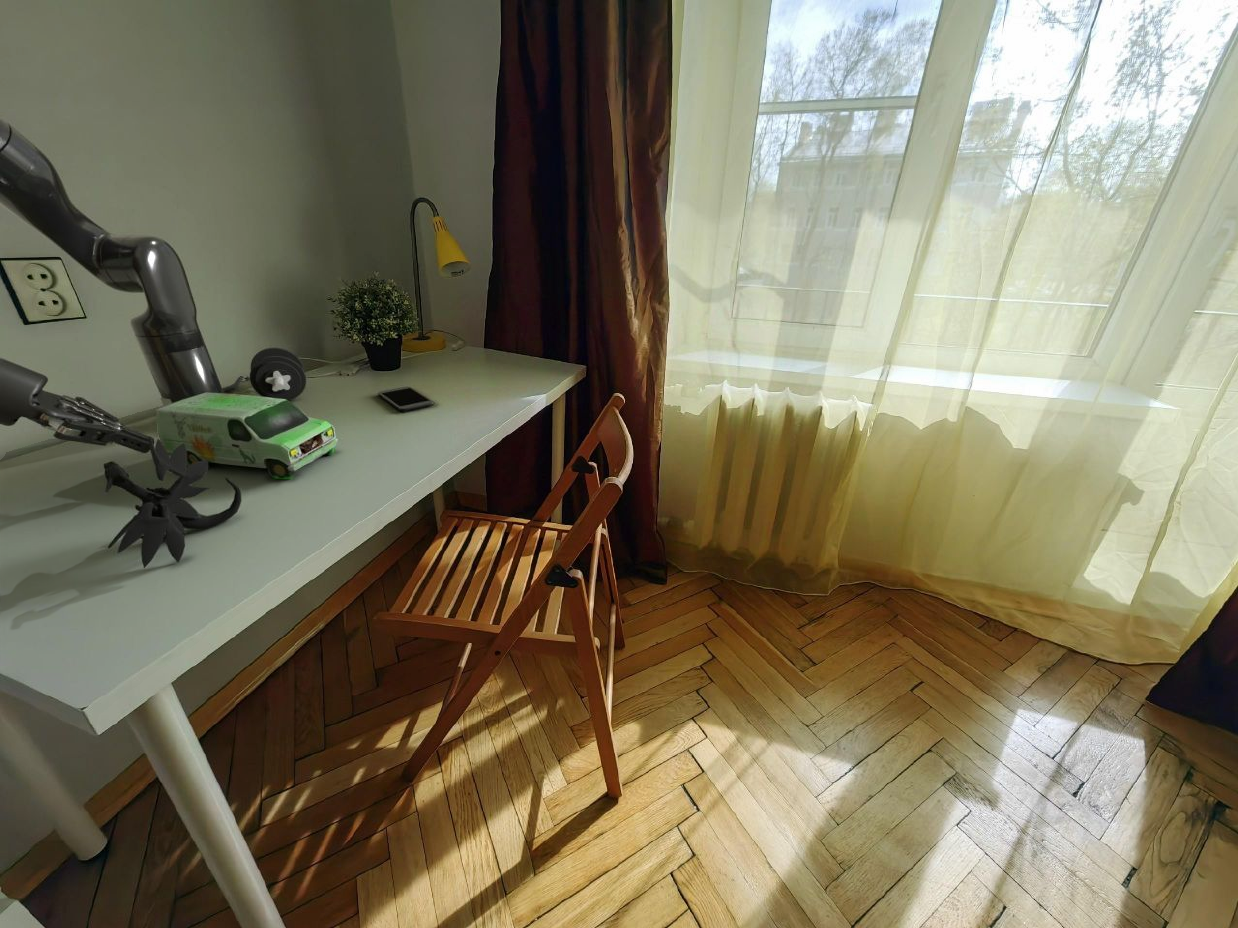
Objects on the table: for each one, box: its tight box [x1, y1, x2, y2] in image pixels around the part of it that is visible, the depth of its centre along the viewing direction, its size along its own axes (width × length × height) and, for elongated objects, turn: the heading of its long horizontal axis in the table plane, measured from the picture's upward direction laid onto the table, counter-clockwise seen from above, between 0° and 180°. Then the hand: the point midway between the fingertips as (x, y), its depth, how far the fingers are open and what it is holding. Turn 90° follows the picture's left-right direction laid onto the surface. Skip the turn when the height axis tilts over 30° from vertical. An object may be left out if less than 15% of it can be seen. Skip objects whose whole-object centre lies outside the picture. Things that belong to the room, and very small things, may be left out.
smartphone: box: [377, 386, 435, 412], centre depth 108 cm, size 7×15×1 cm, turn 42°
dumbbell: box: [249, 347, 307, 402], centre depth 108 cm, size 22×10×10 cm, turn 33°
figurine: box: [103, 435, 242, 569], centre depth 59 cm, size 16×13×11 cm
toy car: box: [155, 393, 339, 480], centre depth 80 cm, size 11×25×10 cm, turn 78°
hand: (151, 446), depth 72 cm, fingers closed
